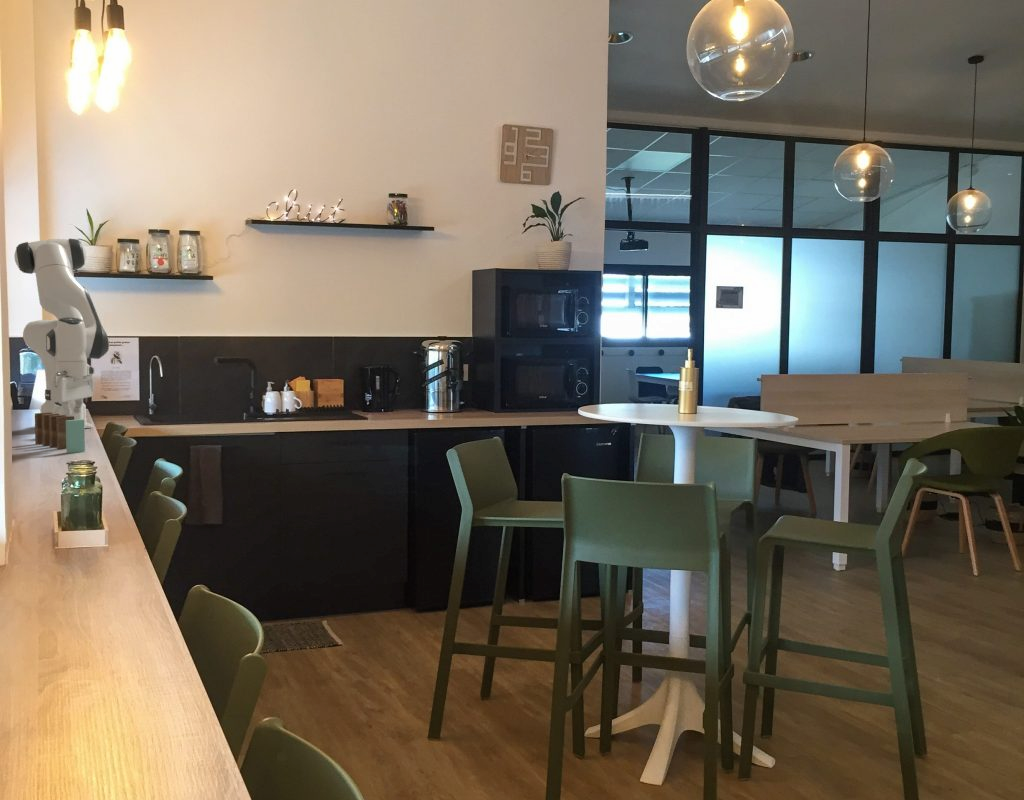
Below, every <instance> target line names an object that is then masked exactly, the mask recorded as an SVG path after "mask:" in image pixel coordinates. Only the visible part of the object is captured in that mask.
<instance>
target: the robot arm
mask: <svg viewBox="0 0 1024 800" xmlns="http://www.w3.org/2000/svg"><path fill="white" fill-rule="evenodd" d="M86 260H87V251H86V248H85V246H84V245H83V243H82V241H80V240H79V239H76V238H68V239H65V238H62V239H61V238H53V239H52V238H49V239H43V240H36V241H35V240H34V241H31V242H29V241H25V242H22V243H19V244H18V245H17V246H16V247H15V251H14V261H15V265H16V266H17V268H18V269H19V271H21V272H22V273H24V274H30V275H31V274H35V279H36V287H37V293H38V300H39V305H40V306H41V308H42V309H43V310H44V311H45V312H47V313H49V314H51V315H53V316H54V317H56V319H40V320H39V319H38V320H33V321H29V322H28V323H27V324H26V325H25V327H24V329H23V332H22V337H23V341H24V343H25V344H26V346H27V347H28V348H29V349H31V350H32V351H33V352H34V353H35V354H36V355H37V356H38V358H39V359H40V360H41V362H42V365H43V368H44V373H45V376H44V377H45V387H46V389H44V399H45V401H44V403H43V404H42V405H40V411H39V413H47V412H51V413H52V411H53V409H54V406H55V405H59V406H63V409H64V415H66V416H69V415H72V409H70V401H72V400H75V402H76V404H75V408H74V413H81V407H82V405H83V420H84V429H90V428H93V424H91V423H89V422H87V417H88V416H87V408H86V407H87V406H86V404H85V403H84V399H87V398H91V397H93V395H94V394H95V393H94V391H95V380H94V378H95V377H94V374H95V367H94V366H91V365H90V364H88V359H91V360H93V359H94V360H95V359H96V360H99V359H101V358H103V356H105V355H106V354H107V353H108V351H109V349H110V341H109V338H108V334H107V331H106V330H105V329H104V327H103V325H102V323H101V320H100V318H99V315H98V313H97V310H96V307H95V305H94V303H93V299H92V298H91V295H90V293H89V291H88V290H87V288H86V287H85V286H83V285H81V284H80V282H78V281H77V279H76V278H75V277H74V274H73V271H76V270H79V269H81V268H83V267H84V266H85V263H86ZM55 414H59V415H62V410H61V409H58V410H57V411H56V412H55Z"/></svg>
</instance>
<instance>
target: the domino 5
mask: <svg viewBox="0 0 1024 800" xmlns="http://www.w3.org/2000/svg"><path fill="white" fill-rule="evenodd" d="M85 436H86V435H85V428H84V420H83V419H79V420H66V453H67V454H74V453H85V452H86V446H85V445H86V444H85V439H86V437H85ZM84 451H85V452H84Z"/></svg>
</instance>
